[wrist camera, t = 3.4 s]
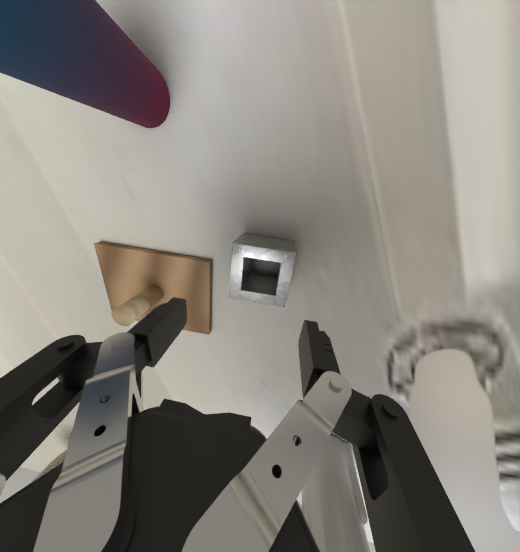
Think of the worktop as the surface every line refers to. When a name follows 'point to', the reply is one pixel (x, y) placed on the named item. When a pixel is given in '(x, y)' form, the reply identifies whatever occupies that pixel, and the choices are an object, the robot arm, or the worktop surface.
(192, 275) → the post board
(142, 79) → the cup
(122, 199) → the worktop surface
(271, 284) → the collar
